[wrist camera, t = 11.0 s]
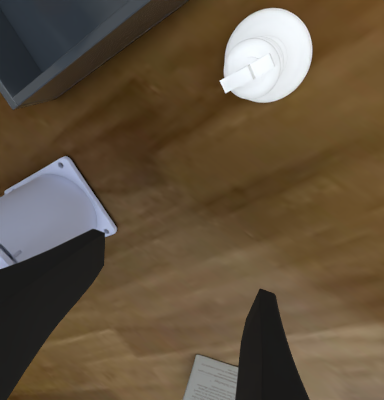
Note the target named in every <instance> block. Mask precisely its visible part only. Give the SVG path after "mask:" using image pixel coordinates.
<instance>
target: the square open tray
mask: <svg viewBox="0 0 384 400" xmlns="http://www.w3.org/2000/svg"><path fill="white" fill-rule="evenodd" d="M188 1H189V0H0V93H1V94H2V95H3V97H4V98H5V100H6V101H7V102H8V104H9V105H10V107H11V108H12V110H15V109H19V108H23V107H27V106H31V105H35V104H39V103H43V102H47V101H51V100H55V99H57V98H58V97H59V96H61V95H62V94H63V93H65V92H66V91H67V90H69V89H70V88H71V87H73V86H74V85H76V84H77V83H78V82H80V81H81V80H82V79H84V78H85V77H86V76H88V75H89V74H90V73H92V72H93V71H94V70H96V69H97V68H99V67H100V66H101V65H103V64H104V63H105V62H107V61H108V60H109V59H111V58H112V57H113V56H115V55H116V54H118V53H119V52H120V51H122V50H123V49H124V48H126V47H127V46H128V45H130V44H131V43H132V42H134V41H135V40H136V39H138V38H139V37H141V36H142V35H143V34H145V33H146V32H147V31H149V30H150V29H151V28H153V27H154V26H155V25H157V24H158V23H160V22H161V21H162V20H164V19H165V18H166V17H168V16H169V15H170V14H172V13H173V12H174V11H176V10H177V9H178V8H180V7H181V6H183V5H184V4H185V3H187V2H188Z"/></svg>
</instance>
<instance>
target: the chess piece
mask: <svg viewBox="0 0 384 400" xmlns="http://www.w3.org/2000/svg"><path fill="white" fill-rule="evenodd" d="M311 59H312V42H311V37H310V34H309V32H308V29H307V28H306V26H305V24H304V23H303V22H302V21H301V20H300V18H298V17H297V16H296V15H295V14H293V13H291V12H289V11H287V10H284V9H279V8H268V9H263V10H260V11H257V12H255V13H253V14H251V15H249V16H248V17H247V18H245V19H244V20H243V21H242V22H241V23H240V24H239V25H238V26H237V27H236V29H235V30H234V32H233V33H232V35H231V37H230V39H229V41H228V44H227V47H226V51H225V64H224V79H222V80H220V82H221V85H222V87H223V89H224V91H225V93H227V92H229V91H232V92H233V93H234V94H235V95H236V96H238V97H240V98H243V99H248V100H251V101H254V102H260V103H266V102H273V101H276V100H279V99H281V98H284V97H285V96H287V95H289V94H290V93H291V92H293V91H294V90H295V89H296V88H297V87H298V86H299V85H300V83H301V82H302V81H303V79H304V78H305V76H306V74H307V72H308V70H309V67H310V63H311Z"/></svg>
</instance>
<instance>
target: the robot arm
mask: <svg viewBox="0 0 384 400" xmlns="http://www.w3.org/2000/svg"><path fill="white" fill-rule="evenodd" d="M61 163H62V164H63V166H62V164H61ZM4 193H5V195H3V196H2V197H0V400H7V398H8V397H9V395H10V394H11V392H12V391H13V389H14V387H15V386H16V384H17V383H18V381H19V380H20V378H21V376H22V375H23V373H24V372H25V370H26V369H27V367H28V366H29V364H30V363H31V361H32V360H33V358H34V357H35V355H36V354H37V352H38V351H39V349H40V348H41V347H42V345H43V344H44V342H45V341H46V339H47V338H48V337H49V335H50V334H51V332H52V331H53V330H54V328H55V327H56V326H57V325H58V323H59V322H60V321H61V320H62V319H63V317H64V316H65V315H66V314H67V313H68V312H69V310H70V309H71V308H72V307H73V306H74V305H75V303H76V302H77V301H78V300H79V299H80V298H81V296H82V295H83V294H84V293H85V292H86V290H87V289H88V288H89V287H90V286H91V284H92V283H93V281H94V280H95V278H96V277H97V275H98V274H99V272H100V271H101V269H102V268H103V266H104V250H105V237H107V236H110V235H113V234H115V233H116V231H117V227H116V226H115V224H114V223H113V221H112V220H111V218H110V217H109V215H108V214H107V212H106V211H105V209H104V208H103V206H102V205H101V203H100V202H99V200H98V199H97V197H96V196H95V195H94V193H93V192H92V190H91V189H90V187H89V186H88V184H87V183H86V181H85V180H84V178H83V177H82V175H81V174H80V172H79V171H78V169H77V168H76V166H75V165H74V163H73V162H72V160H71V159H70V158H69V157H67V156H64V157H62V158H60V159H58V160H57V161H55V162H53V163H51V164H50V165H48V166H46V167H45V168H43V169H41V170H39V171H38V172H36V173H34V174H33V175H31V176H29V177H27V178H26V179H24V180H22V181H21V182H19V183H17V184H15V185H14V186H12V187H10V188H9V189H7V190H5V192H4ZM106 229H107V230H108V231H107V230H106ZM235 400H309V397H308V395H307V393H306V390H305V388H304V386H303V383H302V381H301V379H300V376H299V374H298V371H297V368H296V366H295V363H294V360H293V357H292V354H291V352H290V349H289V345H288V342H287V339H286V336H285V332H284V329H283V325H282V322H281V318H280V314H279V309H278V305H277V299H276V296H275V294H274V293H271V292H268V291H266V290H263V289H259V292H258V294H257V296H256V298H255V300H254V303H253V305H252V307H251V309H250V311H249V314H248V316H247V318H246V322H245V326H244V331H243V335H242V340H241V347H240V357H239V366H238V376H237V386H236V396H235Z"/></svg>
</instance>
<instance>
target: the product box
mask: <svg viewBox="0 0 384 400" xmlns="http://www.w3.org/2000/svg"><path fill="white" fill-rule="evenodd" d="M237 376H238V367H236V366H232V365H229V364H226V363H223V362H220V361H216V360H214V359H211V358H208V357H205V356H201V355H196V357H195V361H194V364H193V367H192V371H191V374H190V378H189V381H188V384H187V388H186V391H185V394H184V397H183V400H235V396H236V386H237Z"/></svg>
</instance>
